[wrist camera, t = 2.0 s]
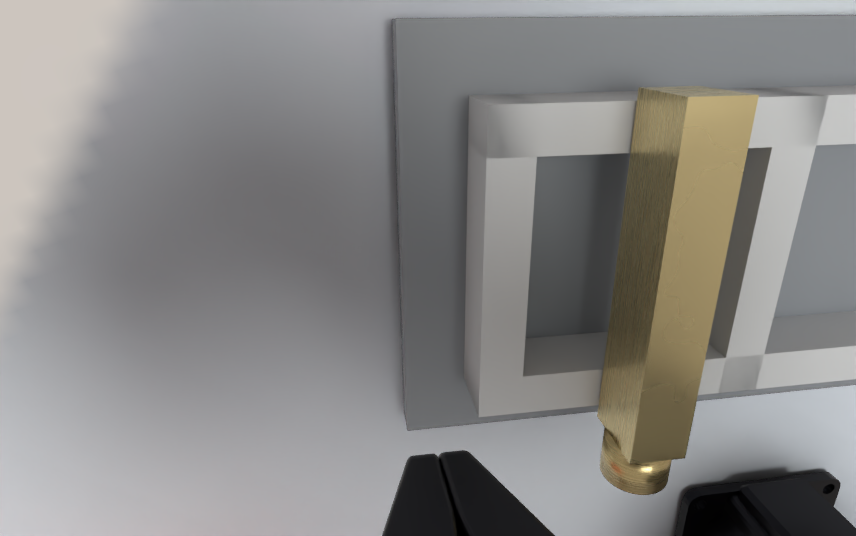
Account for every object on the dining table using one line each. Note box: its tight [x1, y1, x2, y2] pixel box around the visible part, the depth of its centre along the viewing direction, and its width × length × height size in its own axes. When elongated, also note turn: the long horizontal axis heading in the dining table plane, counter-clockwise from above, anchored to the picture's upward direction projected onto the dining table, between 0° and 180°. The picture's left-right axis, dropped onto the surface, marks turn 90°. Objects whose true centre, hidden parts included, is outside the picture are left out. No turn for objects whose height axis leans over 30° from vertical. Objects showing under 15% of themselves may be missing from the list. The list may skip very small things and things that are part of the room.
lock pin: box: [597, 86, 759, 495], centre depth 14 cm, size 10×2×2 cm, turn 1°
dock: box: [392, 15, 856, 431], centre depth 17 cm, size 12×18×3 cm
